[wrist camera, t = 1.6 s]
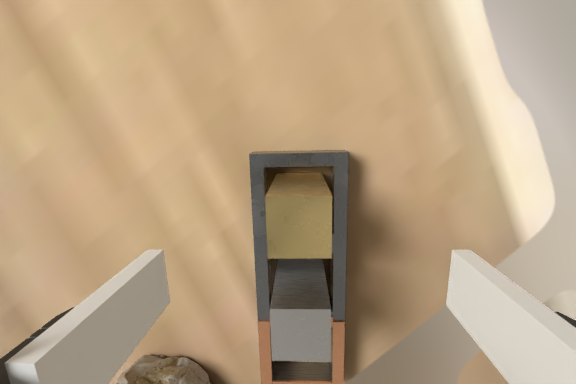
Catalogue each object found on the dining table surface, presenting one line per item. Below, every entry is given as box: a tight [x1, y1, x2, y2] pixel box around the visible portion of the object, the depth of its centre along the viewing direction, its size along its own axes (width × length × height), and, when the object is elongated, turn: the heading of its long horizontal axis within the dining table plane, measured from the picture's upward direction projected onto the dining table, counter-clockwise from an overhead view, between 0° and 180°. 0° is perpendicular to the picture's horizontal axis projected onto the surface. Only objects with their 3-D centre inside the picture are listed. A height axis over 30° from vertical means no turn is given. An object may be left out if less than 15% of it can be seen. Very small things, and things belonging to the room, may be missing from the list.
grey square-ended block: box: [270, 258, 331, 362], centre depth 26 cm, size 4×4×10 cm
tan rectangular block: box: [265, 173, 332, 259], centre depth 25 cm, size 4×4×10 cm
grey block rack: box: [249, 150, 349, 384], centre depth 30 cm, size 9×26×3 cm, turn 1°
